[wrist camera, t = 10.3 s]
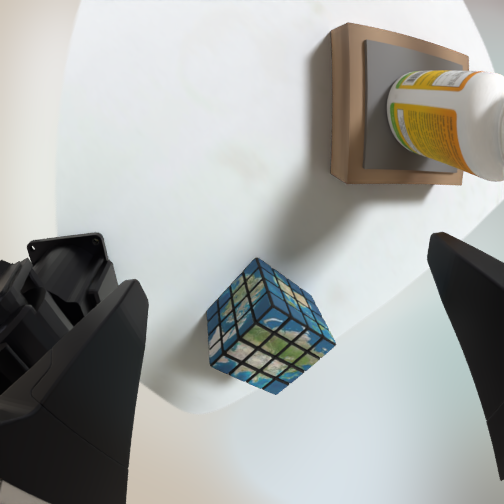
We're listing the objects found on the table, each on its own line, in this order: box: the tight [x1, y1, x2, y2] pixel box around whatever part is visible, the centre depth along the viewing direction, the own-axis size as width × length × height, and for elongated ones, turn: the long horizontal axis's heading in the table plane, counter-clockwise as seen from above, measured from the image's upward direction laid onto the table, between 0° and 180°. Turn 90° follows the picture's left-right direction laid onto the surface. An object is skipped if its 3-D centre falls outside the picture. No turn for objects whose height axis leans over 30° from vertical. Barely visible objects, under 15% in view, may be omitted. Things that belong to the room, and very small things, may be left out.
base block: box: [331, 23, 469, 185], centre depth 18 cm, size 10×10×3 cm
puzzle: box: [207, 258, 336, 395], centre depth 22 cm, size 6×6×6 cm
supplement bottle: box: [387, 70, 504, 182], centre depth 12 cm, size 5×5×10 cm
